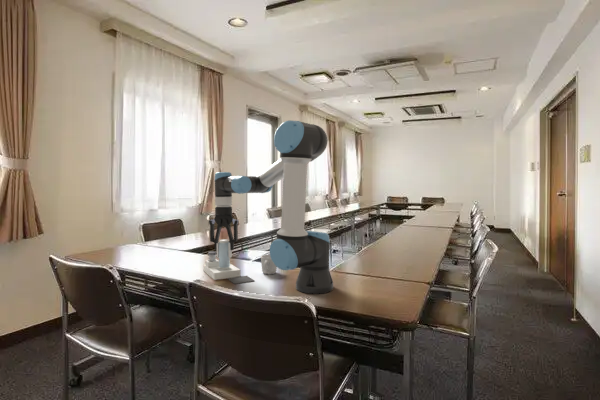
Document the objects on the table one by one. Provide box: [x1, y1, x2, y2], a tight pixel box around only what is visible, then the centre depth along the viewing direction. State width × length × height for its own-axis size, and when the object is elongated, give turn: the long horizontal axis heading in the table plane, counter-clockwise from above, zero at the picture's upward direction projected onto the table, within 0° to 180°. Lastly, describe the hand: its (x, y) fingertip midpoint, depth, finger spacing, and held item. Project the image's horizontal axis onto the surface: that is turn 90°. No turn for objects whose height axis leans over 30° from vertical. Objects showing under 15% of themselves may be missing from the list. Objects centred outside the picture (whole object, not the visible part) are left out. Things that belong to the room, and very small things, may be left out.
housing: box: [202, 258, 241, 281], centre depth 162 cm, size 18×12×6 cm, turn 30°
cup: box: [260, 254, 278, 275], centre depth 162 cm, size 11×8×8 cm
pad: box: [227, 275, 255, 285], centre depth 151 cm, size 9×9×1 cm
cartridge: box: [218, 239, 231, 268], centre depth 158 cm, size 5×5×12 cm
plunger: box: [207, 251, 217, 262], centre depth 164 cm, size 4×4×6 cm
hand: (224, 257), depth 158 cm, fingers closed on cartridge, 5 cm apart
